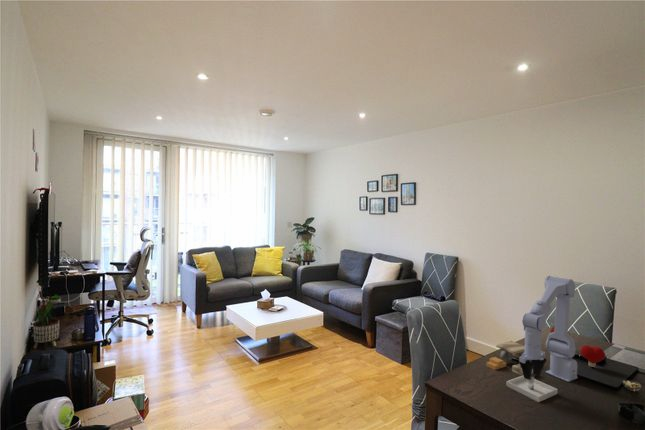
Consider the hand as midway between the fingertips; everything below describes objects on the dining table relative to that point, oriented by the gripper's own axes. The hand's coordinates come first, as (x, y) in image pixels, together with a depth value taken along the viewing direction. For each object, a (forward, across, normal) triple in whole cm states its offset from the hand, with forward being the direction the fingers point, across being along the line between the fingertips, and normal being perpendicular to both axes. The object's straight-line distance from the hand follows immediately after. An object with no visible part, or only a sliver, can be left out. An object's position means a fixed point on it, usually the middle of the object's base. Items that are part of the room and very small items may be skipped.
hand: (531, 376), depth 138 cm
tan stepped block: (+6, +7, +20) cm, 22 cm away
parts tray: (+5, 0, 0) cm, 5 cm away
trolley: (+5, +18, +20) cm, 27 cm away
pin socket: (+5, +12, +10) cm, 17 cm away
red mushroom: (+6, +47, -1) cm, 47 cm away
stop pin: (+5, 0, 0) cm, 5 cm away
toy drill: (+6, +55, +17) cm, 58 cm away
